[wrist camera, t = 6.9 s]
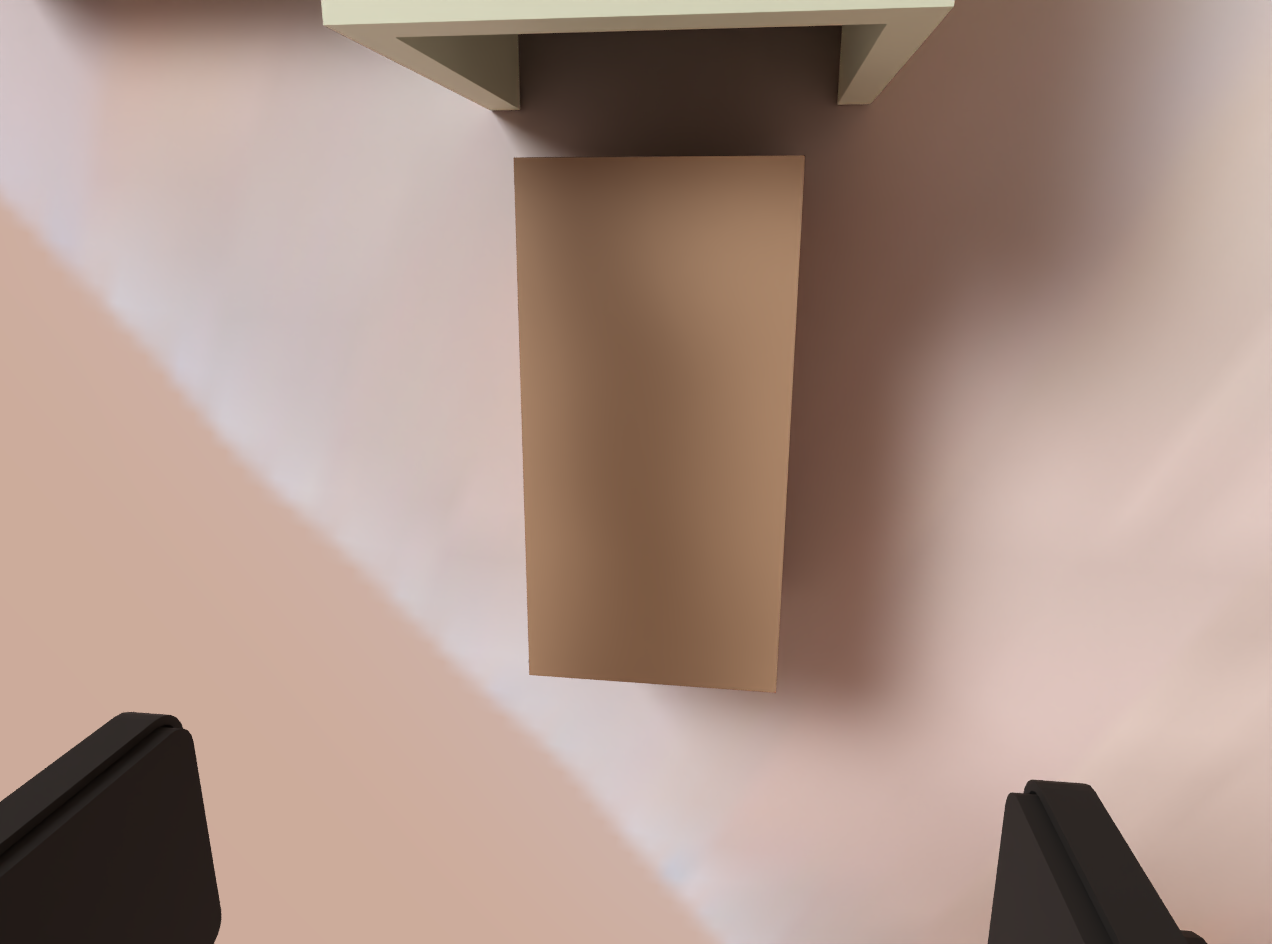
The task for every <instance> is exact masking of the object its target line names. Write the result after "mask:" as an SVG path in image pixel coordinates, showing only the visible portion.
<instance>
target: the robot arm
mask: <svg viewBox="0 0 1272 944" xmlns="http://www.w3.org/2000/svg"><path fill="white" fill-rule="evenodd" d="M220 924H221V907H220V901H219V895H218V889H217V883H216V877H215V871H214V865H213V858H212V853H211V846H210V841H209V834H208V828H207V822H206V816H205V810H204V804H203V798H202V792H201V785H200V779H199V773H198V767H197V762H196V755H195V749H194V743H193V739H192V736H191V734H190V733H189V731H188V730H185V729H183V727H182V724H181V723H180V722H179V720H178V719H177V718H176V717H174V716H172V715H163V714H149V713H136V712H126V713H121V714H119V715H118V716H116V717H114V718H113V719H111V720H110V721H109V722H107V723H106V724H105V725H103V726H102V727H101V728H99V729H98V730H97V731H95V732H94V733H92V734H91V735H90V736H88V737H87V738H86V739H84V740H83V741H82V742H80V743H79V744H78V745H76V746H75V747H74V748H72V749H71V750H70V751H68V752H67V753H65V754H64V755H63V756H62V757H60V758H59V759H57V760H56V761H55V762H53V763H52V764H51V765H49V766H48V767H47V768H45V769H44V770H43V771H41V772H40V773H38V774H37V775H36V776H35V777H33V778H32V779H30V780H29V781H28V782H26V783H25V784H24V785H22V786H21V787H20V788H18V789H17V790H16V791H14V792H13V793H12V794H10V795H9V796H7V797H6V798H5V799H3V800H2V801H1V802H0V944H214V942H215V939H216V937H217V935H218V932H219V928H220ZM988 944H1207V943H1206V942H1205V940H1204V939H1203V938H1202V937H1200V936H1198V935H1197V934H1195V933H1194V932H1192V931H1182V930H1180V929H1179V928H1178V926H1177V925H1176V923H1175V921H1174V920H1173V918H1172V916H1171V915H1170V913H1169V911H1168V910H1167V908H1166V907H1165V905H1164V903H1163V902H1162V900H1161V898H1160V897H1159V895H1158V893H1157V892H1156V890H1155V889H1154V887H1153V885H1152V884H1151V882H1150V880H1149V879H1148V877H1147V876H1146V874H1145V872H1144V871H1143V869H1142V867H1141V866H1140V864H1139V862H1138V861H1137V859H1136V858H1135V856H1134V854H1133V853H1132V851H1131V849H1130V848H1129V846H1128V844H1127V843H1126V841H1125V840H1124V838H1123V836H1122V835H1121V833H1120V831H1119V830H1118V828H1117V827H1116V825H1115V823H1114V822H1113V820H1112V818H1111V817H1110V815H1109V813H1108V812H1107V810H1106V809H1105V807H1104V805H1103V804H1102V802H1101V800H1100V799H1099V797H1098V795H1097V794H1096V792H1095V791H1094V790H1093V789H1092V787H1091V786H1090V785H1087V784H1083V783H1069V782H1056V781H1043V780H1030V781H1028V782H1027V784H1026V786H1025V789H1024V793H1010V794H1009V795H1008V797H1007V800H1006V804H1005V812H1004V820H1003V827H1002V835H1001V843H1000V851H999V859H998V867H997V875H996V883H995V891H994V898H993V906H992V914H991V922H990V930H989V938H988Z"/></svg>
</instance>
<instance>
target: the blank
mask: <svg viewBox="0 0 1272 944" xmlns="http://www.w3.org/2000/svg"><path fill="white" fill-rule="evenodd" d="M804 166H805V155H802V156H666V157H530V158H514V185H515V217H516V250H517V283H518V315H519V348H520V381H521V413H522V446H523V479H524V511H525V544H526V577H527V610H528V642H529V675H538V676H552V677H565V678H579V679H593V680H607V681H621V682H635V683H649V684H663V685H677V686H690V687H704V688H718V689H732V690H746V691H760V692H774V693H776V681H777V663H778V644H779V626H780V608H781V589H782V571H783V552H784V534H785V516H786V497H787V479H788V460H789V442H790V424H791V405H792V387H793V368H794V350H795V332H796V313H797V295H798V277H799V258H800V240H801V221H802V203H803V185H804Z"/></svg>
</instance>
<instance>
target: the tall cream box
mask: <svg viewBox="0 0 1272 944" xmlns="http://www.w3.org/2000/svg"><path fill="white" fill-rule="evenodd" d="M954 1H955V0H321V6H322V18H323V25H324V26H326V27H328V28H330V29H332V30H334V31H336V32H338V33H339V34H341V35H343V36H345V37H347V38H349V39H351V40H353V41H355V42H357V43H359V44H361V45H363V46H365V47H367V48H369V49H371V50H373V51H375V52H377V53H379V54H381V55H383V56H385V57H387V58H389V59H391V60H392V61H394V62H396V63H398V64H400V65H402V66H404V67H406V68H408V69H410V70H412V71H414V72H416V73H418V74H420V75H422V76H424V77H426V78H428V79H430V80H432V81H434V82H436V83H438V84H440V85H442V86H444V87H446V88H447V89H449V90H451V91H453V92H455V93H457V94H459V95H461V96H463V97H465V98H467V99H469V100H471V101H473V102H475V103H477V104H479V105H481V106H483V107H485V108H487V109H489V110H520V84H519V50H518V34H534V33H570V32H607V31H643V30H679V29H716V28H752V27H788V26H825V25H842V35H841V51H840V68H839V84H838V100H837V105H850V104H871V103H872V102H873V101H874V100H875V98H876V97H877V96H878V95H879V94H880V93H881V91H882V90H883V89H884V88H885V87H886V86H887V84H888V83H889V82H890V81H891V80H892V79H893V77H894V76H895V75H896V74H897V73H898V71H899V70H900V69H901V68H902V67H903V66H904V64H905V63H906V62H907V61H908V60H909V59H910V57H911V56H912V55H913V54H914V53H915V52H916V50H917V49H918V48H919V47H920V46H921V45H922V43H923V42H924V41H925V40H926V39H927V37H928V36H929V35H930V34H931V33H932V32H933V30H934V29H935V28H936V27H937V26H938V25H939V23H940V22H941V21H942V20H943V19H944V18H945V16H946V15H947V14H948V13H949V12H950V11H951V9H952V8H953V7H954Z"/></svg>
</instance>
